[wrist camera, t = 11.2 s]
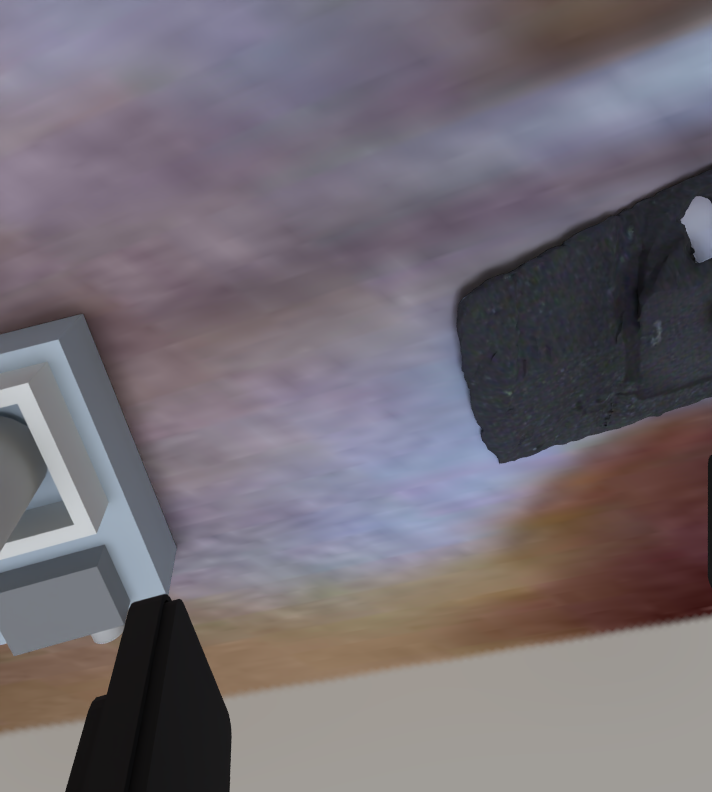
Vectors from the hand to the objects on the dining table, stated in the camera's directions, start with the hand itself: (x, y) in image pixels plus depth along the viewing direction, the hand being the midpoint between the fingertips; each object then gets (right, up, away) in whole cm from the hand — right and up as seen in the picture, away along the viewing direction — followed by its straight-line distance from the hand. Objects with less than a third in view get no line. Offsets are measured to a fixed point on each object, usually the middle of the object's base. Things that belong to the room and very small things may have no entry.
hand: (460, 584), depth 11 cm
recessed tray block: (-20, -2, +28) cm, 34 cm away
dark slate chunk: (+15, +8, +30) cm, 35 cm away
